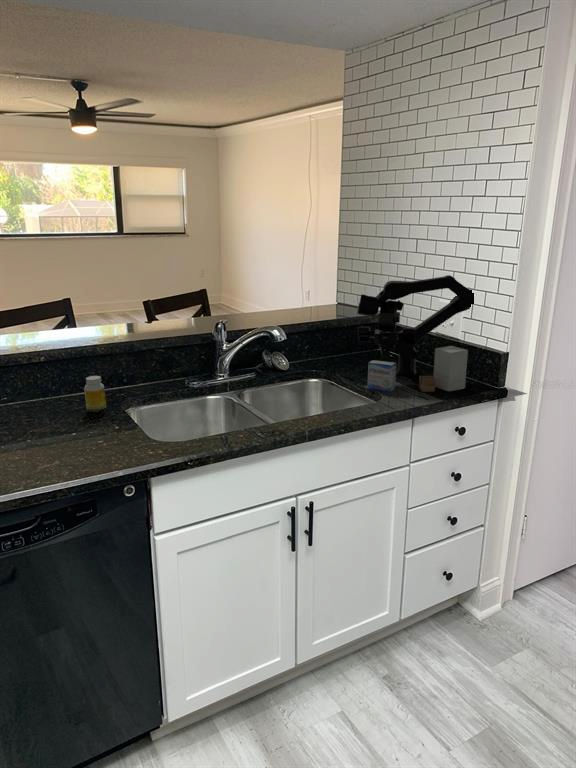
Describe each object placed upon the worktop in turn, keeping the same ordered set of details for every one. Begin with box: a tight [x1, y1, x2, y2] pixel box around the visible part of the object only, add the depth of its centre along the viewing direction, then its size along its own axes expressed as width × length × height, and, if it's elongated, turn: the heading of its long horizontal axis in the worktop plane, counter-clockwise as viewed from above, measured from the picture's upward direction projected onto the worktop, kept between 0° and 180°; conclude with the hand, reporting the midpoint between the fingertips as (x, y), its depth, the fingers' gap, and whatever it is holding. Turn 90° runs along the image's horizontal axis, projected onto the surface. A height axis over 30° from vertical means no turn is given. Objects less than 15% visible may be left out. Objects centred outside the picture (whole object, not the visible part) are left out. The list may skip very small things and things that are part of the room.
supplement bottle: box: [83, 375, 107, 411], centre depth 159 cm, size 5×5×10 cm
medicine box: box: [367, 359, 397, 393], centre depth 178 cm, size 8×4×9 cm, turn 62°
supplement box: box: [432, 345, 469, 392], centre depth 179 cm, size 7×7×13 cm
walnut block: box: [418, 375, 436, 393], centre depth 178 cm, size 4×4×4 cm
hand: (384, 357), depth 183 cm, fingers closed
